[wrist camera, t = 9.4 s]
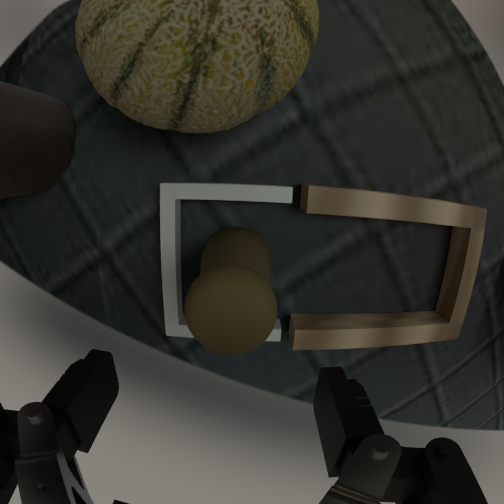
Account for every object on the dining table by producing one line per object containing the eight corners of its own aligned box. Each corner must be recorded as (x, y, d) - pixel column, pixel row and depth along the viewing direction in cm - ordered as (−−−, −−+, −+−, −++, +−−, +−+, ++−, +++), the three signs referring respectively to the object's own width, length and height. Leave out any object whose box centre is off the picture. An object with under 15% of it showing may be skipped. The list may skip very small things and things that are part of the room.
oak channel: (468, 204, 24) (487, 209, 22) (443, 325, 28) (457, 338, 25) (301, 183, 24) (308, 185, 21) (288, 332, 28) (292, 349, 25)
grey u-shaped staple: (289, 186, 24) (292, 187, 22) (278, 330, 27) (280, 341, 26) (166, 182, 24) (160, 183, 22) (171, 324, 27) (166, 335, 25)
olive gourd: (243, 307, 27) (241, 387, 16) (187, 267, 26) (150, 331, 15) (287, 255, 26) (312, 314, 15) (229, 211, 25) (215, 243, 14)
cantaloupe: (114, 29, 20) (26, -48, 5) (267, -19, 19) (282, -132, 4) (150, 169, 24) (36, 175, 9) (321, 117, 23) (412, 59, 8)
